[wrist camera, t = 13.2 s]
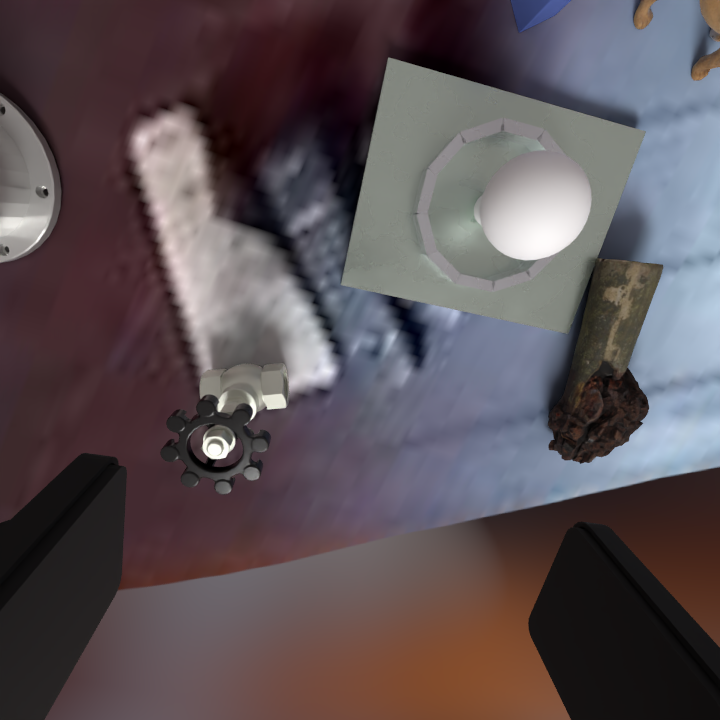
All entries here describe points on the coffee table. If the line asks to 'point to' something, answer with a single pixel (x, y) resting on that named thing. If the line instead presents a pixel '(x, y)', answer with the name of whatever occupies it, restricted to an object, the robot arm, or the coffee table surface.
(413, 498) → the coffee table surface
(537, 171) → the lightbulb
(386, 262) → the duct collar
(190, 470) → the valve
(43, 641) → the robot arm
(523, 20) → the walkman
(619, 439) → the brown camo elongated piece
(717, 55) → the lion figurine
